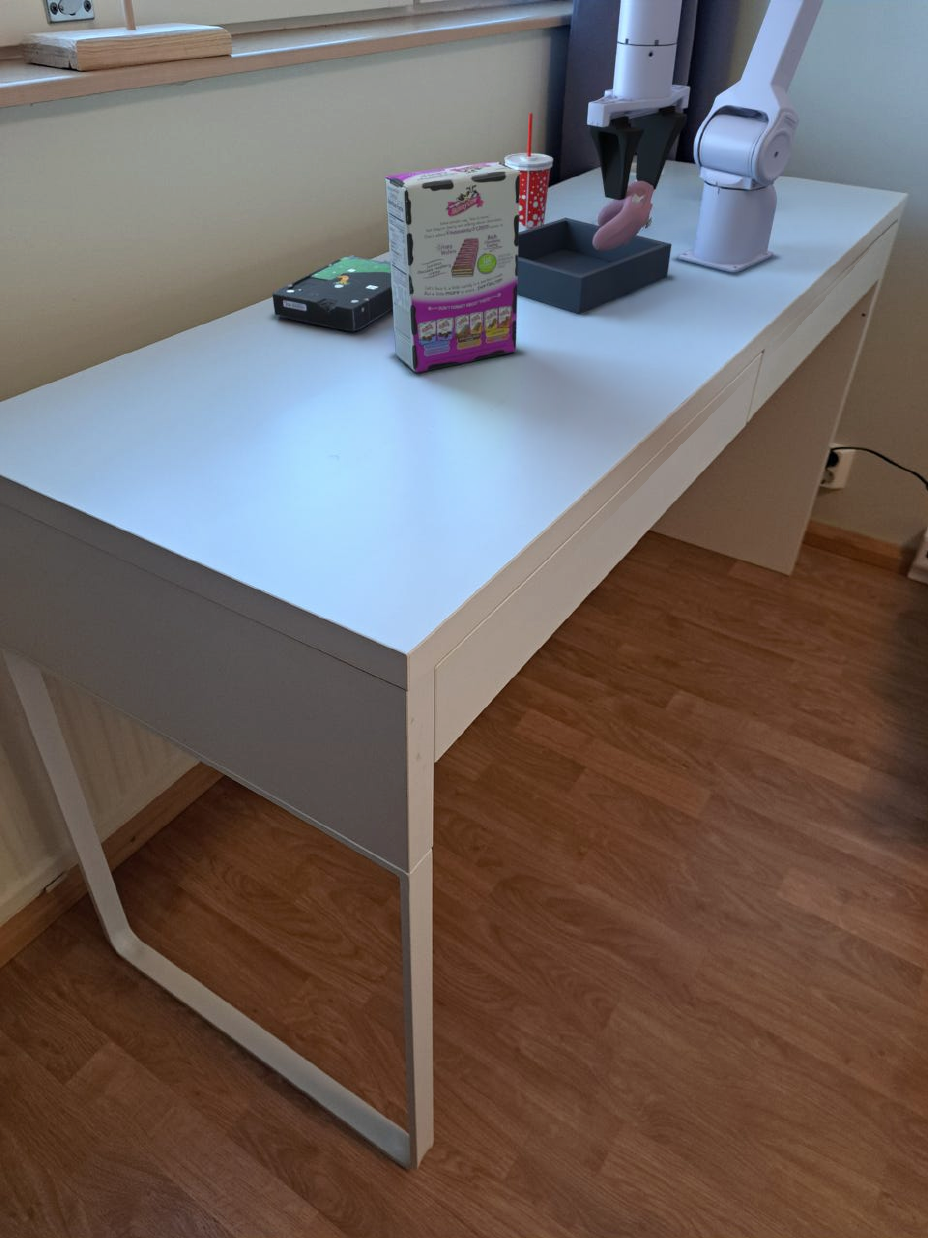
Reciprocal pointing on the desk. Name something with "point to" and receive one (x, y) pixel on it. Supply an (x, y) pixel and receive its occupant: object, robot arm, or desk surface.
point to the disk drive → (339, 294)
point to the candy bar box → (454, 263)
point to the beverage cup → (531, 183)
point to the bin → (584, 265)
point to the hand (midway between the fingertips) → (630, 192)
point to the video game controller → (624, 217)
